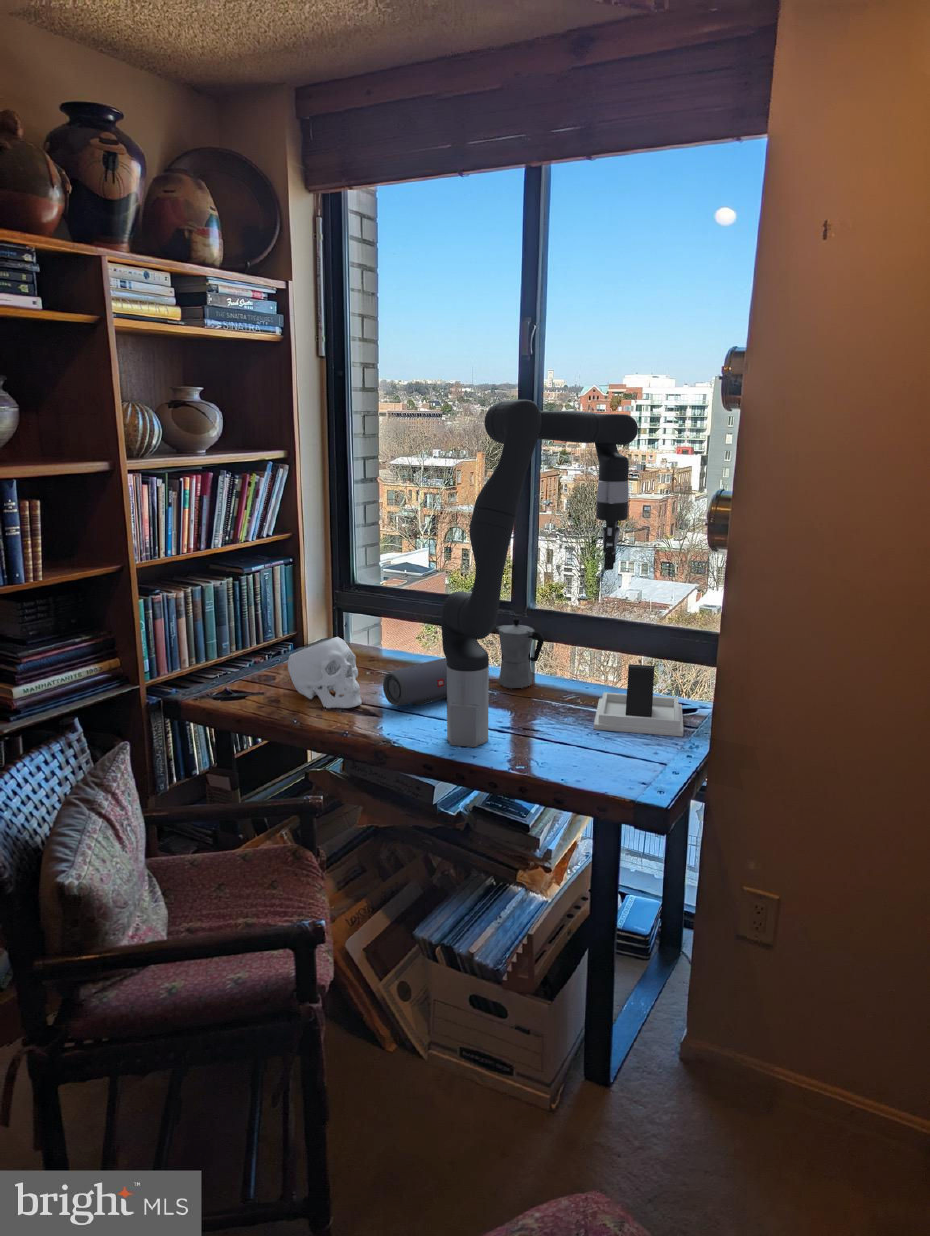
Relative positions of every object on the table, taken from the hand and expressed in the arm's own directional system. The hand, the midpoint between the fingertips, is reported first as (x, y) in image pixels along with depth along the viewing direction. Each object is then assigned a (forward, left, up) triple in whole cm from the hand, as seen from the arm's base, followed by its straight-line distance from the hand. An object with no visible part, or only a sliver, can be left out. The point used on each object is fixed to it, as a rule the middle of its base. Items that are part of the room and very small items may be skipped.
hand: (609, 566), depth 206 cm
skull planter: (-16, +68, -34) cm, 78 cm away
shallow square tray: (-13, -9, -34) cm, 38 cm away
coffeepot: (+6, +23, -34) cm, 42 cm away
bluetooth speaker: (-11, +43, -34) cm, 56 cm away
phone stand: (-13, -9, -33) cm, 37 cm away
